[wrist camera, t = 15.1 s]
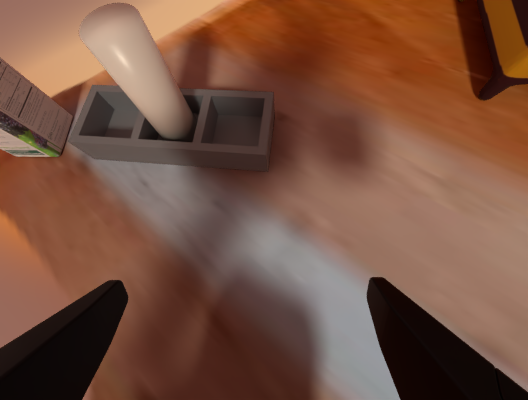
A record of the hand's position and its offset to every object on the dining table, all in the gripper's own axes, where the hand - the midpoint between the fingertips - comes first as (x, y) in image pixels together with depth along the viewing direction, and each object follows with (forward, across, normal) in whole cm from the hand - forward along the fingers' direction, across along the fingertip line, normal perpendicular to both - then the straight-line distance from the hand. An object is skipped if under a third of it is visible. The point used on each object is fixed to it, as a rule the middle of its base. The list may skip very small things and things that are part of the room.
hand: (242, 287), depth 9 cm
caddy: (+21, +9, -2) cm, 23 cm away
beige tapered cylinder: (+20, +9, -2) cm, 22 cm away
